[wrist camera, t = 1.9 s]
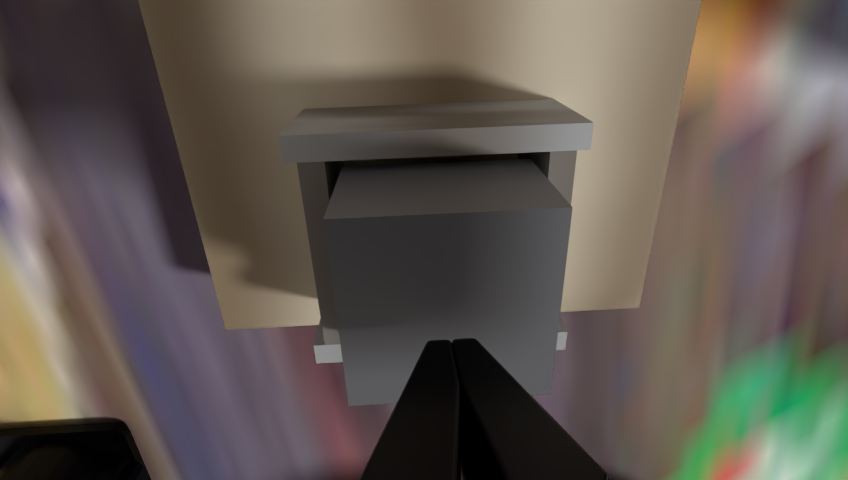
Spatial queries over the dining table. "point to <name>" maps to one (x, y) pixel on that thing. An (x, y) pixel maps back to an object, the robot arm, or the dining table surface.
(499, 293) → the dark grey square block
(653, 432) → the dining table surface
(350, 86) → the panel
